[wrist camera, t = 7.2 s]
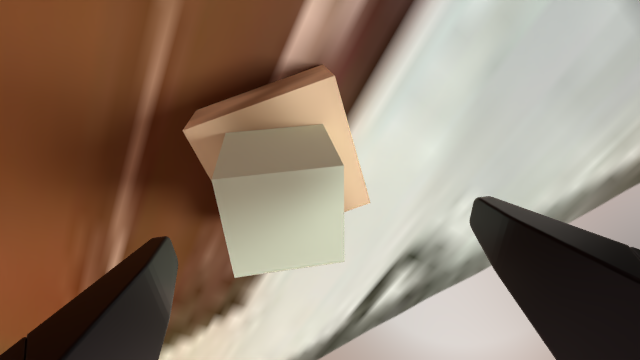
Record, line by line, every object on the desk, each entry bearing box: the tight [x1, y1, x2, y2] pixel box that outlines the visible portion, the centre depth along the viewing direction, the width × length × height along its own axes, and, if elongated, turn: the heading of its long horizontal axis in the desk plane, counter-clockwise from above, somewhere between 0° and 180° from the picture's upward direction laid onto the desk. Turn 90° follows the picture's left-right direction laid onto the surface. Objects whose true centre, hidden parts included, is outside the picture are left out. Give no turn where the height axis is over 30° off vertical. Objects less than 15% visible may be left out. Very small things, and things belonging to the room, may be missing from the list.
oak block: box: [182, 65, 370, 212], centre depth 19 cm, size 8×8×4 cm
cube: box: [212, 124, 344, 278], centre depth 15 cm, size 5×5×5 cm
